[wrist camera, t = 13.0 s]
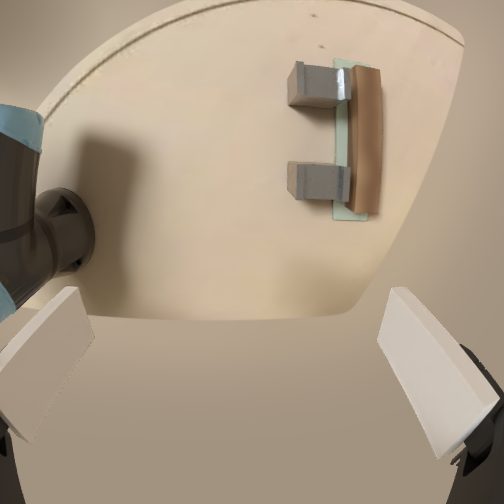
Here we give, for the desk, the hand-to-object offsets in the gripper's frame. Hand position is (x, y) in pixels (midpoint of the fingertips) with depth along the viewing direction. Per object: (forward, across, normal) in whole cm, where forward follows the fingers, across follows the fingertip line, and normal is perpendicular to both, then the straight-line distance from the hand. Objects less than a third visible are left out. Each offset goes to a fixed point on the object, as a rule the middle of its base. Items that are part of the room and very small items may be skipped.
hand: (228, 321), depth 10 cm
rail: (+28, +16, +9) cm, 34 cm away
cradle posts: (+29, +9, +9) cm, 31 cm away
